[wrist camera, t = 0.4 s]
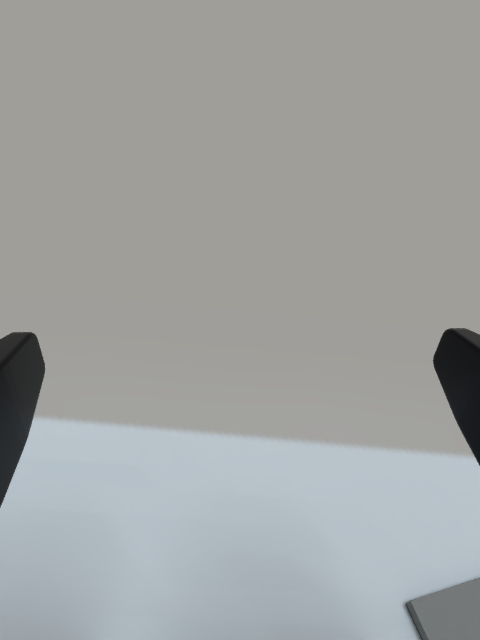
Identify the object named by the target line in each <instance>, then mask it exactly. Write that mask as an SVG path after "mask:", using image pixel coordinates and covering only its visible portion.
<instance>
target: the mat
mask: <svg viewBox="0 0 480 640" xmlns="http://www.w3.org/2000/svg"><path fill="white" fill-rule="evenodd" d="M406 605H407V607H408V609H409V611H410V613H411V616H412V618H413V620H414V622H415V624H416V627H417V629H418V631H419V633H420V635H421V638H422V640H480V578H479V579H475V580H472V581H469V582H466V583H463V584H460V585H457V586H454V587H451V588H448V589H445V590H442V591H439V592H436V593H433V594H430V595H427V596H424V597H421V598H418V599H415V600H412V601H409V602H408V603H406Z"/></svg>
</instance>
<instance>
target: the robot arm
mask: <svg viewBox="0 0 480 640" xmlns="http://www.w3.org/2000/svg"><path fill="white" fill-rule="evenodd" d="M433 363H434V368H435V371H436V373H437V375H438V378H439V380H440V383H441V385H442V388H443V390H444V393H445V395H446V397H447V400H448V402H449V405H450V407H451V410H452V412H453V415H454V417H455V419H456V421H457V424H458V426H459V427H460V430H461V431H462V434H463V435H464V437H465V439H466V441H467V443H468V445H469V447H470V448H471V450H472V452H473V454H474V456H475V458H476V460H477V462H478V463H479V465H480V335H479V334H477V333H475V332H472V331H470V330H468V329H465V328H450V329H447V330H446V331H445V332H444V333H443V335H442V337H441V340H440V342H439V345H438V347H437V350H436V352H435V354H434V359H433ZM44 374H45V363H44V360H43V356H42V353H41V349H40V346H39V343H38V339H37V337H36V335H35V334H34V333H32V332H14V333H11V334H9V335H7V336H5V337H4V338H2V339H0V507H1V505H2V502H3V500H4V497H5V495H6V492H7V490H8V487H9V484H10V482H11V479H12V477H13V474H14V472H15V469H16V467H17V464H18V462H19V459H20V457H21V454H22V452H23V449H24V446H25V444H26V441H27V438H28V435H29V431H30V428H31V424H32V420H33V416H34V412H35V408H36V404H37V400H38V397H39V393H40V389H41V385H42V382H43V378H44Z"/></svg>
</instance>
